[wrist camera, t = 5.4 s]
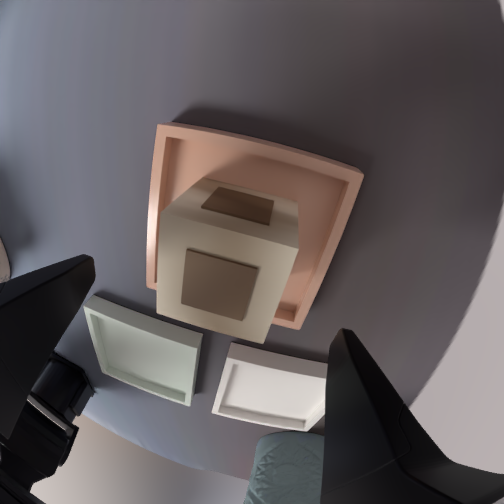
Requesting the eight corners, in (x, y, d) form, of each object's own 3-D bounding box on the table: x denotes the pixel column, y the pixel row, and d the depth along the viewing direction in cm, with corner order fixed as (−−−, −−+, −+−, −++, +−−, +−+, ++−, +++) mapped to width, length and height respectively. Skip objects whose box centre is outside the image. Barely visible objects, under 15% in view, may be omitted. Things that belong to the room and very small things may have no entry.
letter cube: (190, 258, 15) (155, 314, 11) (202, 175, 12) (159, 210, 8) (272, 280, 15) (262, 345, 11) (298, 199, 12) (299, 248, 8)
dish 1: (108, 362, 23) (102, 372, 22) (93, 294, 18) (83, 305, 17) (194, 394, 23) (190, 406, 22) (202, 333, 18) (197, 348, 17)
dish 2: (156, 273, 16) (146, 286, 15) (170, 121, 12) (157, 124, 11) (299, 313, 16) (299, 330, 15) (357, 167, 12) (364, 174, 11)
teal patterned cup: (287, 420, 23) (274, 531, 13) (356, 439, 25) (356, 530, 14) (237, 443, 28) (219, 526, 18) (300, 461, 30) (293, 534, 19)
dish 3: (215, 400, 23) (211, 412, 22) (231, 341, 18) (227, 357, 17) (307, 419, 23) (306, 431, 22) (351, 367, 18) (353, 382, 17)
